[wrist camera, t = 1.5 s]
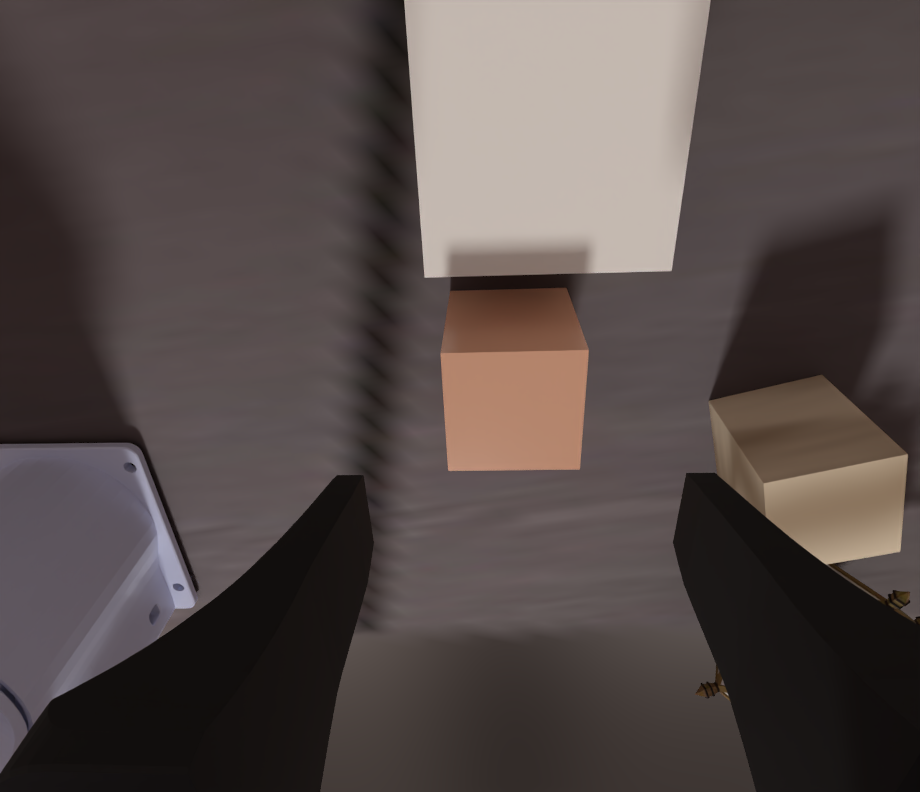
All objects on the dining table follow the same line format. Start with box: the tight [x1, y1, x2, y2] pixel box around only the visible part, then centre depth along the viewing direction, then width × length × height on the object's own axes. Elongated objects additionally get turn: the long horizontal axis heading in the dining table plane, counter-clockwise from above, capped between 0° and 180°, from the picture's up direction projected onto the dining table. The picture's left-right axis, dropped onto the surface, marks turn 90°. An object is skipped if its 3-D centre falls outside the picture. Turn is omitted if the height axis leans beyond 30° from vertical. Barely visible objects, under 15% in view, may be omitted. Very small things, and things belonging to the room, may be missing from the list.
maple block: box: [709, 375, 908, 565], centre depth 20 cm, size 4×4×5 cm
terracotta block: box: [441, 288, 589, 471], centre depth 19 cm, size 4×4×5 cm
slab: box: [404, 0, 711, 278], centre depth 16 cm, size 7×7×3 cm
